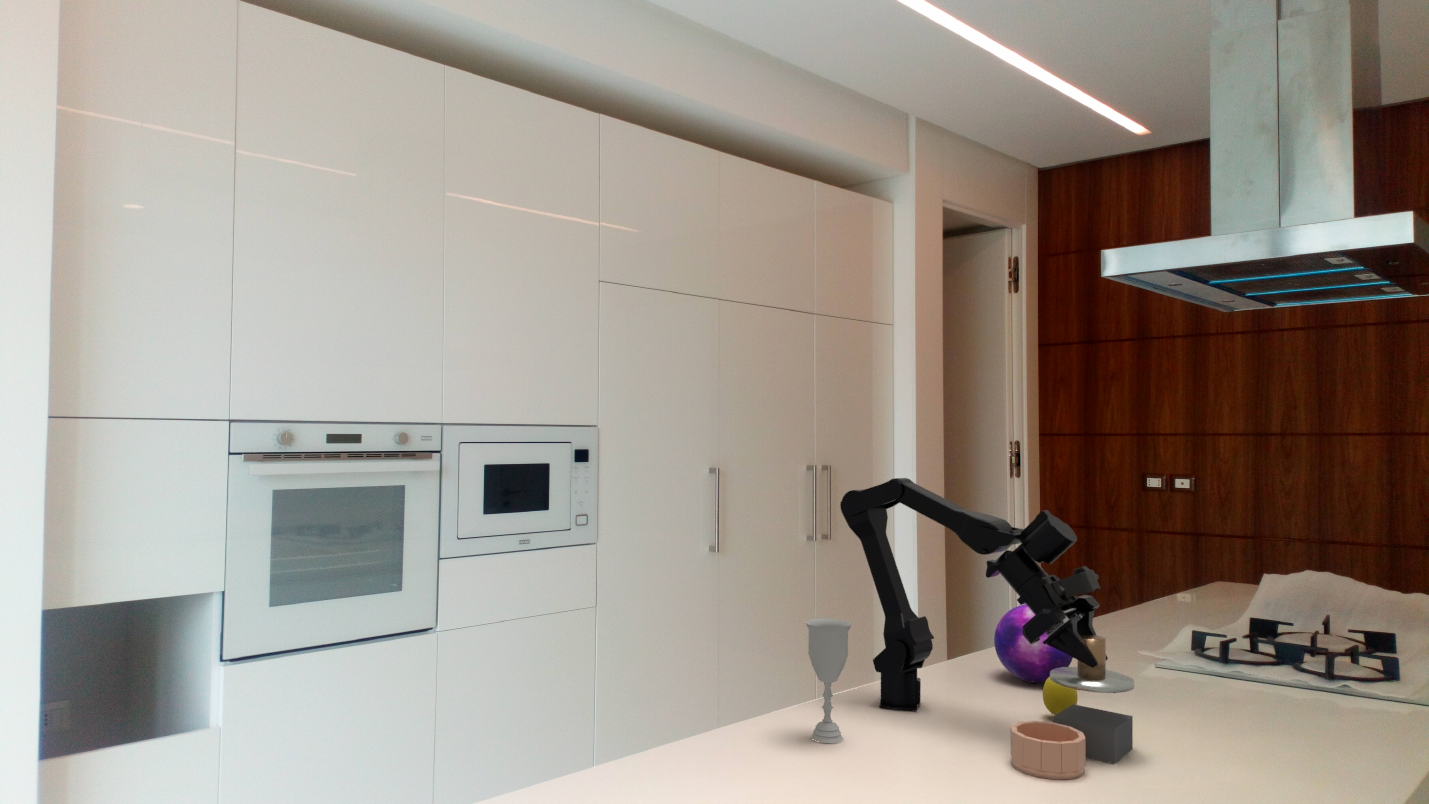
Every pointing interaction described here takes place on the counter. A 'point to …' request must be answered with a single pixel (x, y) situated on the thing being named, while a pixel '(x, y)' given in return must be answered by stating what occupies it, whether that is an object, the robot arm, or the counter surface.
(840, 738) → the chalice
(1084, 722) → the block
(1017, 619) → the decorative orb
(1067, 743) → the bowl
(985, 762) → the counter surface
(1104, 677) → the lid
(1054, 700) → the lemon
